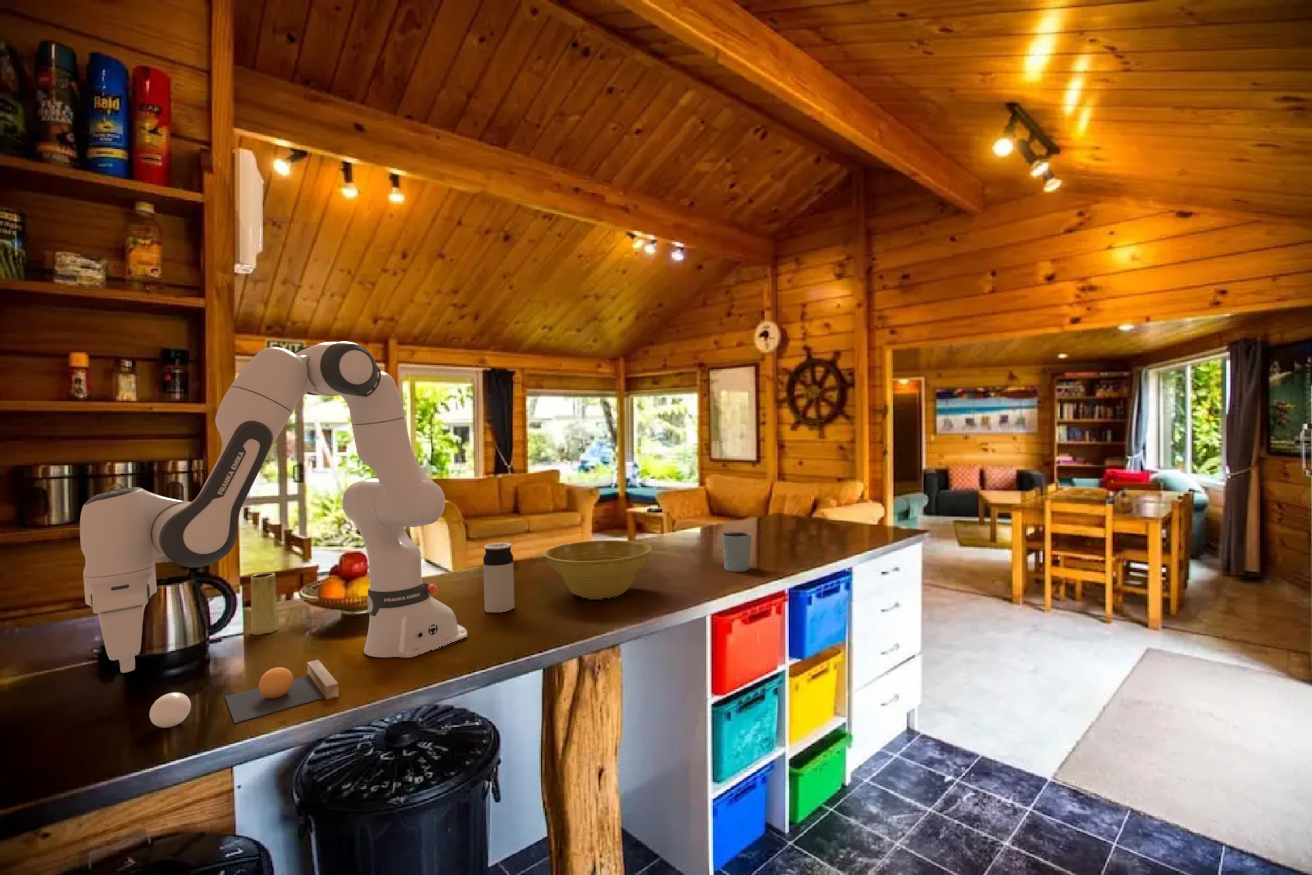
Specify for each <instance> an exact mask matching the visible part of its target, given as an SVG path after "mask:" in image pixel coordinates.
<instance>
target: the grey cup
mask: <svg viewBox="0 0 1312 875" xmlns="http://www.w3.org/2000/svg"><path fill="white" fill-rule="evenodd" d="M721 541H722V551H723V553H722V554H723V562H724V563H723V564H724V565H723V566H724V570H725V569H726V570H725V571H728V572H735V573H737V572H738V573H740V572H747V571H749V570H750V561H751V559H750V558H751V543H752V533H750V532H743V531H731V532H730V531H729V532H723V533H722V534H721ZM748 569H749V570H748ZM746 570H747V571H746Z"/></svg>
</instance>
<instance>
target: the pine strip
mask: <svg viewBox="0 0 1312 875" xmlns="http://www.w3.org/2000/svg"><path fill="white" fill-rule="evenodd" d="M306 665H307V667H306V668H307V675H309V676H310V677H311V678H312V680H313V681H314V682H315V684H316V685H317V687H318V688H319V689H320V691H321V692H322V693H323V695H324V696H325V698H324V699H325V700H326V701H327V700H330V699H333V698H334V697H335V698H338V697H339V682H338V681H337V680H336V679H335V678H334V677H333V676H332V674H331V673H330V672H329V671H328V669H327V668H326V667H325V666H324V664H323V663H322V662H321V661H320V660H319V659H316V660H312V661H307V663H306Z"/></svg>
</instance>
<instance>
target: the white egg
mask: <svg viewBox="0 0 1312 875" xmlns="http://www.w3.org/2000/svg"><path fill="white" fill-rule="evenodd" d="M191 703H192V702H191V700H190V699H189V697H188V696H187V695H186V694H184V693H182V692H169V693H166V694H163V695H162V696H160V697H159V698H158V699H156V700H155V701H154V703H153V704H152V705H151V707H150V710H149V719H150V722H151V723H152V724H153V725H155V726H156V727H158V728H163V729H164V728H165V729H166V728H167V729H168V728H172V727H175V726H177V725H180V723H182V722H183V721H184V720H185V719H186V718H187V717H188V715H189V714H190V712H191V709H192V708H191V707H192V706H191V705H192V704H191Z"/></svg>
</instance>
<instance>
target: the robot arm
mask: <svg viewBox="0 0 1312 875" xmlns="http://www.w3.org/2000/svg"><path fill="white" fill-rule="evenodd" d="M305 395H309V396H325V397H337V396H340V397H342V398H343V400H344V402H346V405H347V408H348V409H349V416H350V423H351V428H352V433H353V438H354V444H355V448H356V453H357V456H358V458H359V460H360V461H361V462H362V463H363V464H365V465H366V466H367V467H369V468H370V469H371V471H372V472H373V473H374V474H375V476H376V478H375V477H374V478H373V477H371V478H367V479H363V480H360V481H359V480H358V481H356V482H353V483H352V484H350V485H349V486H348V487H347V488H346V490H345V492H344V493H343V497H342V502H341V503H342V504H341V505H342V509H343V513H344V514H345V516H346V517H348V519H349V520H351V521H352V522H353V524H354V525H355V526H356V528H357V530H358V531H359V533H360V536H361V538H362V541H363V543H364V546H365V549H366V555H367V560H368V573H369V576H368V577H369V588H368V589H367V596H366V597H367V599H366V600H367V610H368V614H369V618H368V619H369V620H368V622H369V623H368V629H367V630H368V631H367V635H366V641H365V645H364V648H363V653H364V654H365V655H367V656H369V657H373V658H407V659H408V658H413V657H416V656H420V655H423V654H425V652H426V653H428V651H429V652H431V651H430V650H432V651H435V650H437V649H440V648H442V647H441V646H443V647H446V646H448V645H447V644H449V643H451V642H455V641H457V640H459V639H462V638H464V637H467V638H468V636H467V635H468V631H467V629H466V628H465V627H463V626H462V625H461V624H458V620H457V617H456V614H455V613H454V611H453V609H452V608H451V607H450V606H448V605H446V604H444V603H443V602H441V601H439V600H438V599H436V598H434V597H432V596H431V594H432V595H435V594H436V593H437V592H438V590H439V589H438V586H437V585H435V584H434V583H428V582H425V581H423V580H422V573H423V572H422V552H421V549H420V548H419V546H418V545H417V544H416V543H415V542H414V541H412V540H411V538H410V537H409V535H408V533H407V531H406V529H405V528H417V527H423V526H428V525H432V524H434V523H436V522H437V521H439V519H440V518H441V517H442V515H443V514H444V511H445V507H446V497H445V493H444V491H443V488H442V487H441V486H440V485H439V484H437V483H436V482H435V481H434V480H432V479H431V478H430V477H429V476H428V475H427V474H426V473H425V471H424V469H423V468H422V466H421V465H420V463H419V462H418V460H417V458H416V455H415V454H414V452H413V448H412V445H411V439H410V436H409V431H408V426H407V422H406V414H405V410H404V405H403V401H402V399H401V394H400V392H399V389H398V386H397V385H396V381H395V380H394V378H393V377H392V375H390V374H389V373H388V372H385V371H382V370H381V369H380V368H379V366H378V364H377V361H376V359H375V358H374V356H373V354H372V353H371V352H370V351H369V350H368V349H367V348H366V347H365V346H362V345H360V344H358V343H355V342H352V341H345V340H344V341H327V342H321V343H318V344H316V345H308V346H305V347H301V348H299V349H297V350H296V351H294V352H292V351H291V350H288V349H286V348H281V347H266V348H264V349H261V350H260V351H259V352H257V354H255V355H254V356H253V358H252V359H250V361H249V362H247V364H246V365H245V366H244V367H243V368H242V369H241V371H240V372H239V373H238V375H237V376H236V378H235V379H234V381H233V382H232V383H231V385H230V386H229V388H228V389H227V391H226V392H225V394H224V396H223V397H222V400H221V401H220V404H219V407H218V410H217V412H216V416H215V420H214V421H215V426H216V428H217V432H219V435H220V438H221V439H220V440H221V451H220V454H219V456H218V459H217V460H216V462H215V464H214V466H213V468H212V469H211V472H210V473H209V475H208V477H207V479H206V481H205V482H204V484H203V486H202V488H201V490H200V492H199V493H198V495H197V496H196V497H195V499H194V500H192V501H187V500H180V499H175V498H169V497H166V496H162V495H159V494H155V493H153V492H150V491H148V490H146V489H144V488H142V487H138V486H134V487H125V488H119V489H113V490H109V491H106V492H102V493H98V494H96V495H94V496H92V497H91V498H89V499H88V500H87V501H85V503H84V504H83V505H82V509H81V512H80V519H79V537H80V538H79V540H80V550H81V552H82V554H83V556H84V558H85V564H84V569H83V572H82V574H83V575H82V576H83V587H84V588H83V590H84V600H85V604H86V605H87V606H90V608H91V609H92V610H91V611H92V613H93V614H97V616H98V620H99V625H100V629H101V634H102V639H103V643H104V648H105V651H106V655H107V657H108V659H109V660H110V661H119V669H120V672H121V673H122V674H124V673H129V672H132V671H134V670H136V660H135V659H136V658H135V656H138V655H139V654H140V652H141V648H142V647H141V646H142V636H143V625H144V624H143V622H144V613H145V609H146V608H145V607H146V605H147V604H148V603H149V601H150V598H152V596H153V595H154V594H156V593H157V591H158V587H157V575H156V560H157V559H159V558H164V557H167V558H168V559H169V560H170V561H171V562H173V563H174V564H177V565H179V566H182V567H185V568H201V567H205V566H207V567H208V566H210V565H213V564H215V563H217V562H218V561H221V559H223V558H224V557H226V556H227V555H228V554H229V553H230V552H231V550H232V549H233V547H234V546H235V544H236V541H237V538H238V531H239V520H240V519H239V517H240V513H241V510H242V507H243V504H244V503H245V501H246V499H247V496H248V494H249V493H250V491H251V489H252V486H253V485H254V483H255V480H256V479H257V477H258V474H259V472H260V470H261V468H262V466H263V464H264V462H265V460H266V459H267V455H268V454H269V452H270V451H271V449H272V447H273V446H274V444H275V442H276V441H277V439H278V437H279V436H280V434H281V433H282V431H283V430H284V428H285V427H286V424H287V423H288V421H289V420H290V418H291V416H292V414H293V413H294V411H295V409H296V408H297V405H298V403H299V401H301V400H302V398H303V397H304V396H305ZM455 643H456V642H455ZM445 645H446V646H445ZM449 645H450V644H449ZM439 647H440V648H439ZM419 654H420V655H419Z"/></svg>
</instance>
